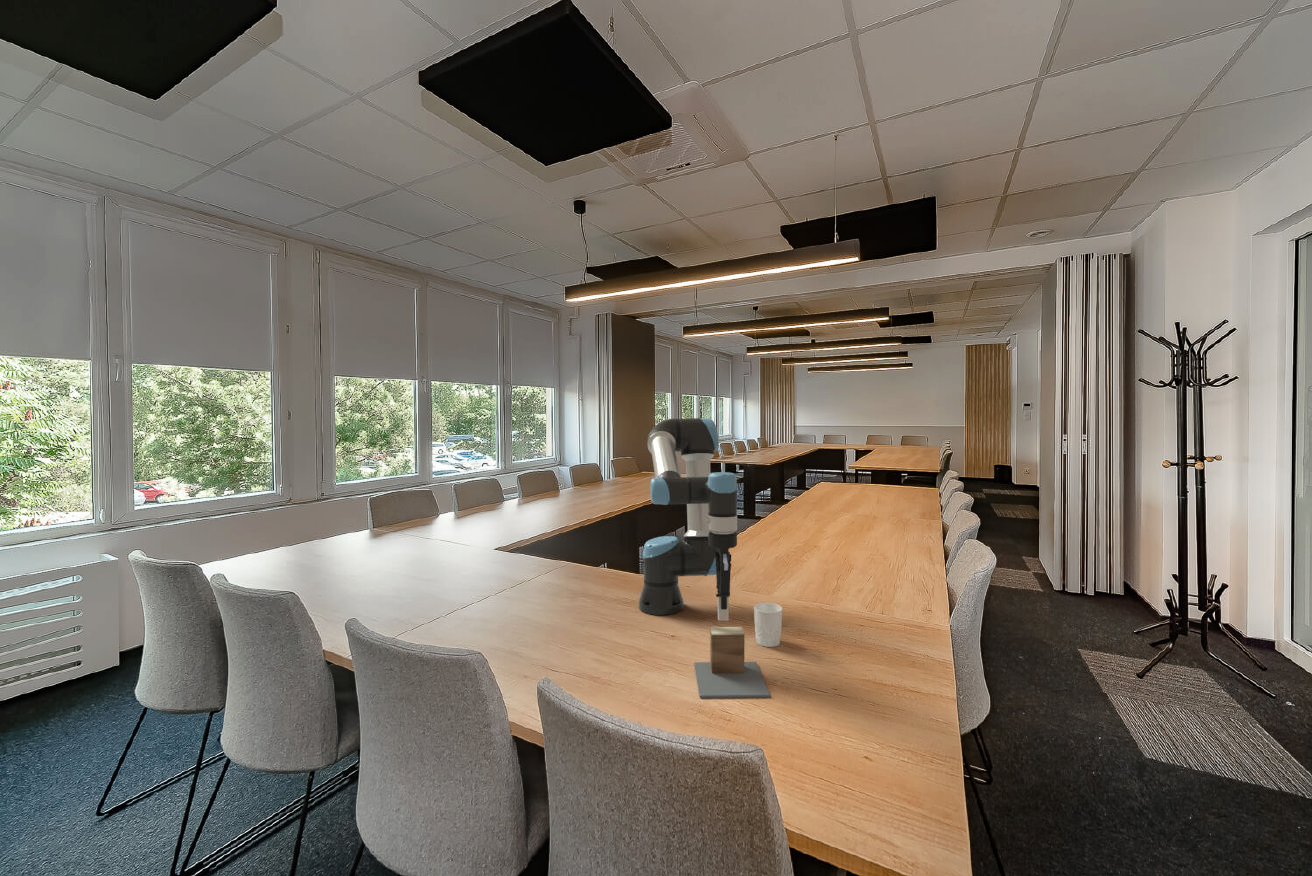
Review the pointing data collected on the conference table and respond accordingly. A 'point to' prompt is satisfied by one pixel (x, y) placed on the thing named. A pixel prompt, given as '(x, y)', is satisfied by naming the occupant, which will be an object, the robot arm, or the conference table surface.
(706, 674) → the rubber mat
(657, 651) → the conference table surface
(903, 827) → the conference table surface
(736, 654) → the walnut slab
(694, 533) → the robot arm
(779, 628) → the white cup
